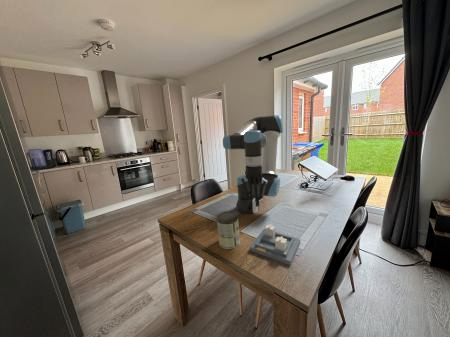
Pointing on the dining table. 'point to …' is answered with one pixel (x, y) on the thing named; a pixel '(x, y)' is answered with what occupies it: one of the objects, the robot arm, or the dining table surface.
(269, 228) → the tab
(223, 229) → the coffee can
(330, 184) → the dining table surface
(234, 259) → the dining table surface
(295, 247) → the switch board
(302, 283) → the dining table surface
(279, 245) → the tab
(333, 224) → the dining table surface
